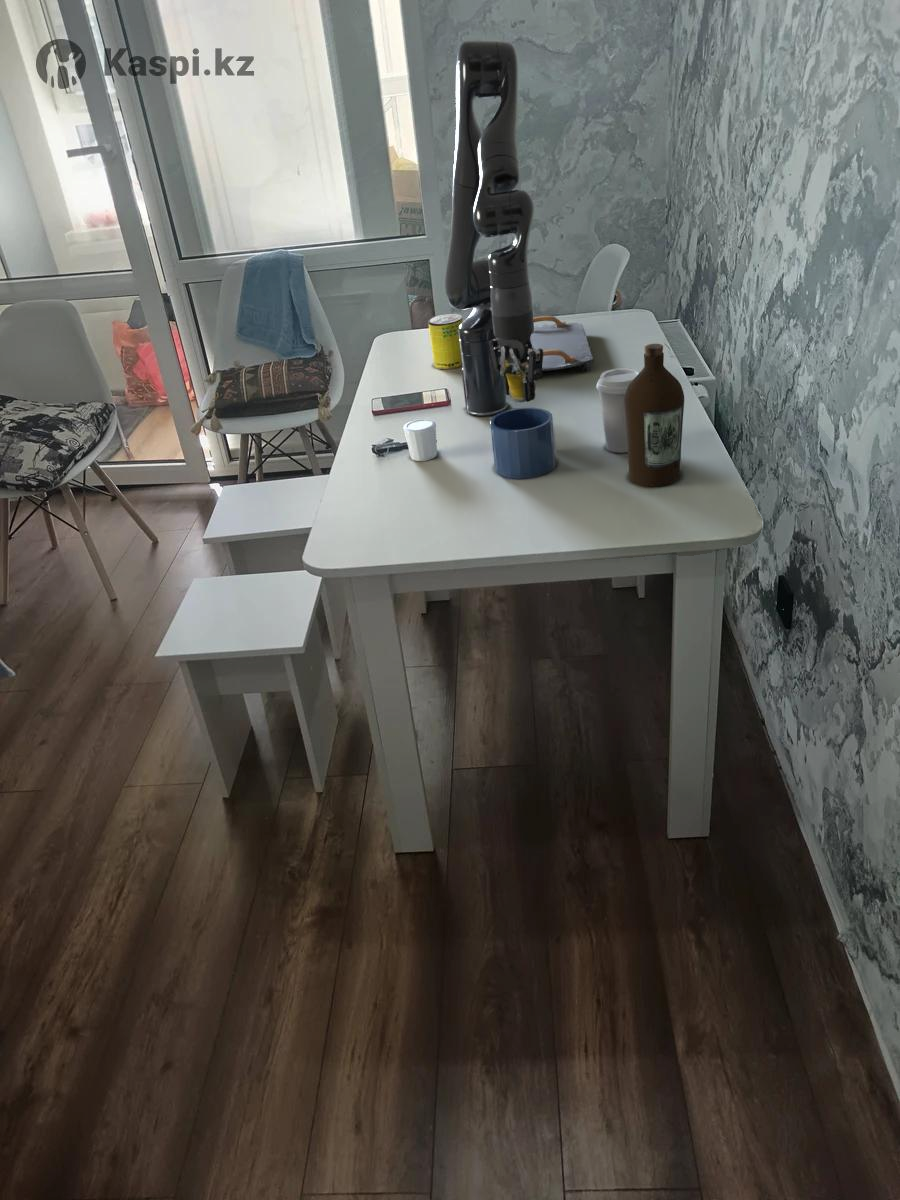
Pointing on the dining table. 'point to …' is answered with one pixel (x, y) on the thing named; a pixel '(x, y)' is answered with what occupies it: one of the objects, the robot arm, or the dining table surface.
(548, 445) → the cup
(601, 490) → the dining table surface
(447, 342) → the yellow can
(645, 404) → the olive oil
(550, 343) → the serving tray
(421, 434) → the white cylinder
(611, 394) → the coffee cup
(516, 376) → the drill bit
